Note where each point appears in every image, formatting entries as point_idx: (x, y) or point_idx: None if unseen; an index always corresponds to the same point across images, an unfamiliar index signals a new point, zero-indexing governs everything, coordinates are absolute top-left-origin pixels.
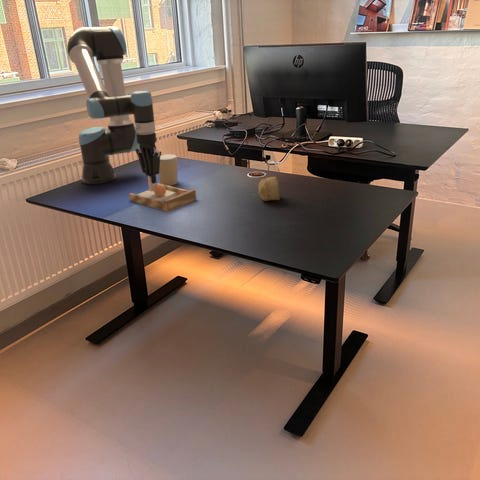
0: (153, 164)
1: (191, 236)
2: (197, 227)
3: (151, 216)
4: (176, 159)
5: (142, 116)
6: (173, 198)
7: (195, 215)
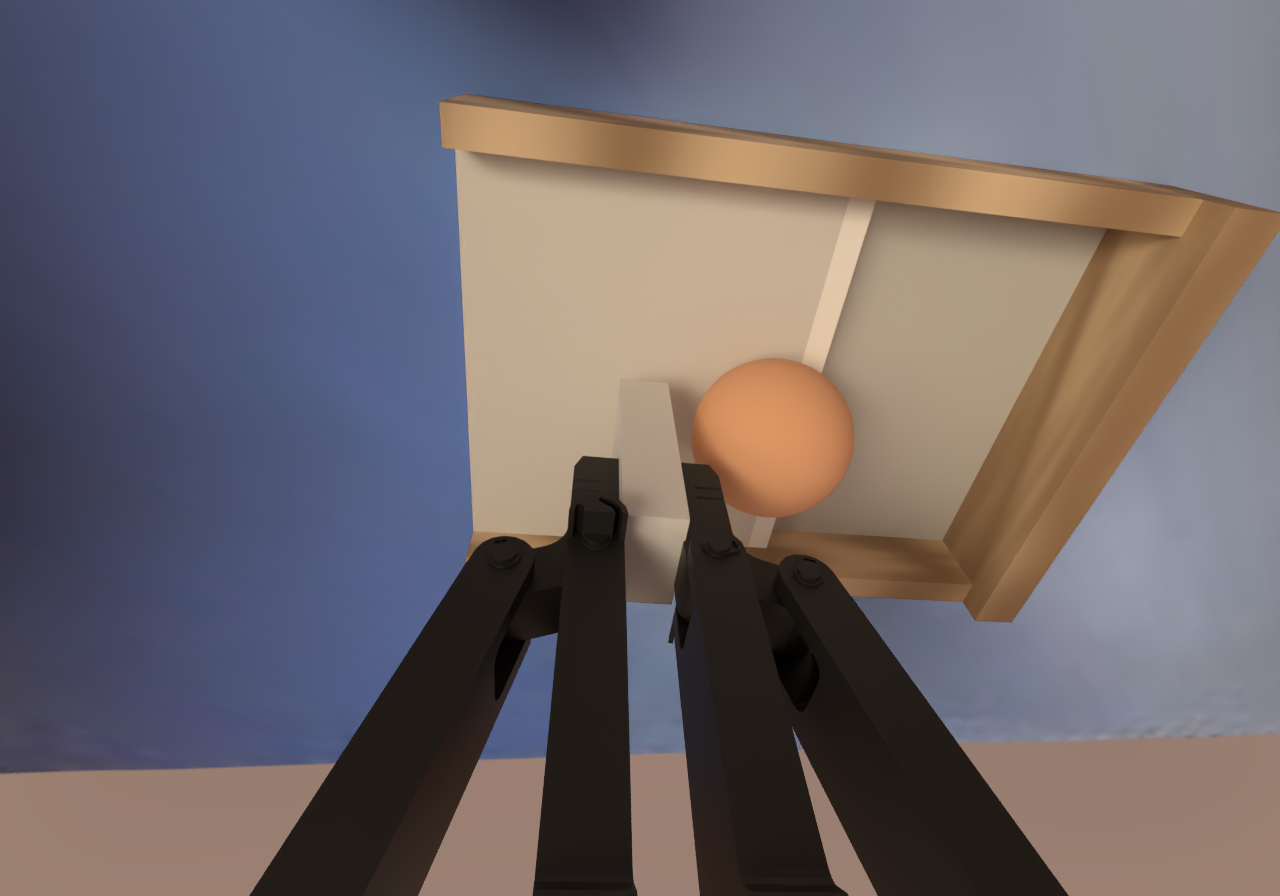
0: (858, 834)
1: (1243, 711)
2: (1269, 636)
3: None
4: None
5: None
6: (1051, 549)
7: (1228, 516)
